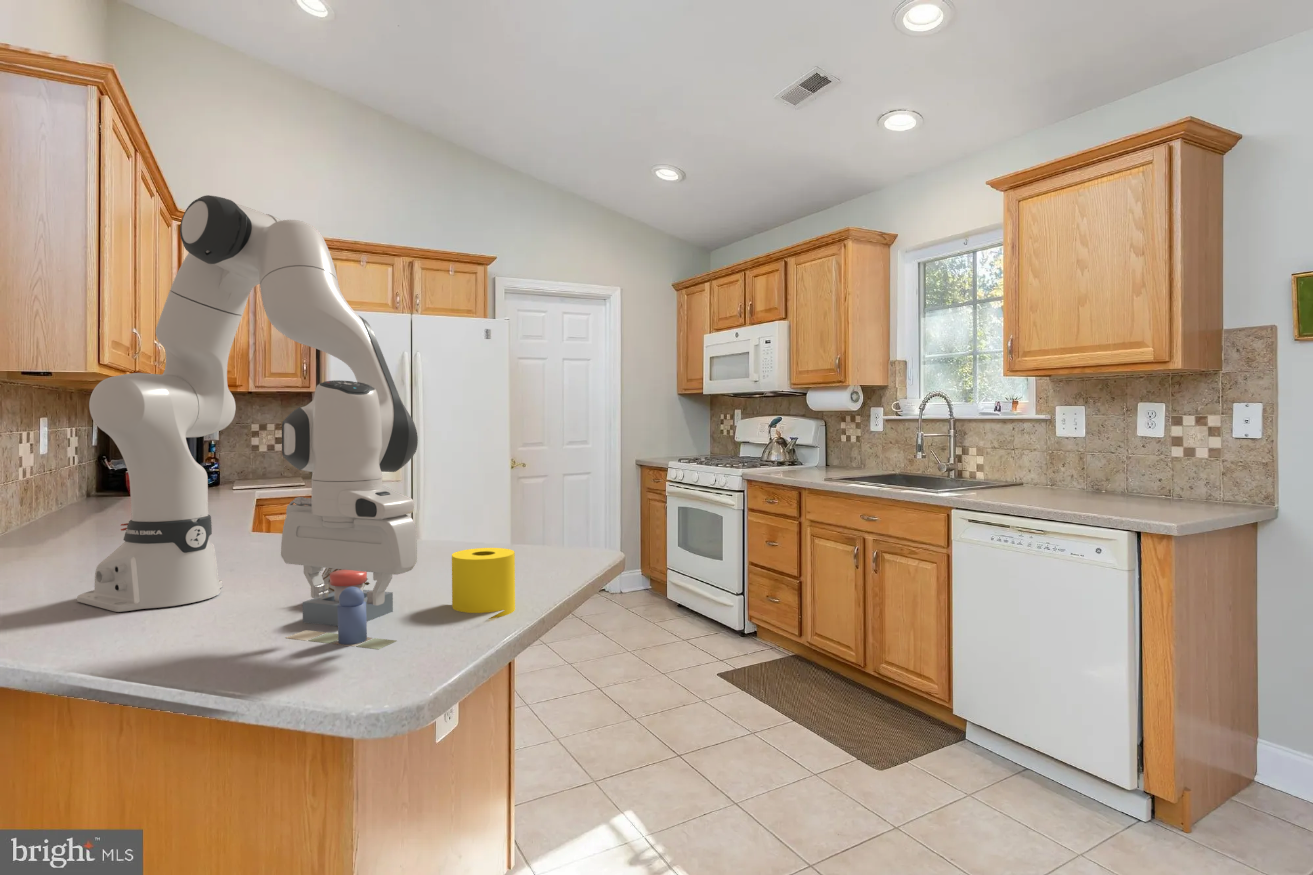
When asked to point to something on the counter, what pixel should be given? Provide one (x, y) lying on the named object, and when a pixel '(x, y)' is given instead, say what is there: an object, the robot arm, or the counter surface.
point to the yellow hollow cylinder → (484, 581)
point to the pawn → (352, 617)
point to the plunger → (346, 580)
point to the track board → (333, 637)
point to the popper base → (328, 614)
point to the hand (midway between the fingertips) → (347, 600)
